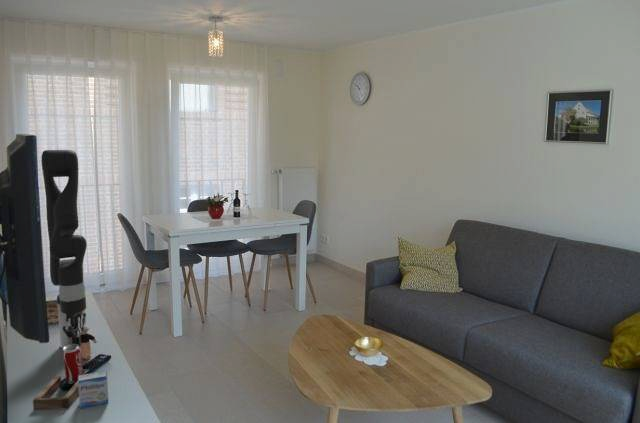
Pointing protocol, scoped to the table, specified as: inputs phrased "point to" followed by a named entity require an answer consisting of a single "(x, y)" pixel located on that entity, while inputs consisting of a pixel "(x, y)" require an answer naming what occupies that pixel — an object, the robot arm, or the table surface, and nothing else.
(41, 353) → the table surface
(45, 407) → the u rest
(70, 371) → the soda can
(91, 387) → the medicine box
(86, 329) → the grandmother figurine
